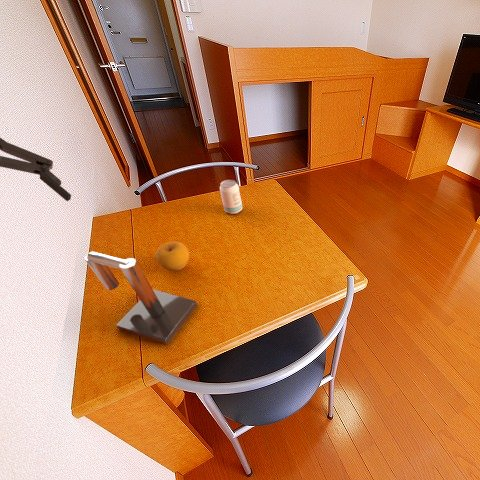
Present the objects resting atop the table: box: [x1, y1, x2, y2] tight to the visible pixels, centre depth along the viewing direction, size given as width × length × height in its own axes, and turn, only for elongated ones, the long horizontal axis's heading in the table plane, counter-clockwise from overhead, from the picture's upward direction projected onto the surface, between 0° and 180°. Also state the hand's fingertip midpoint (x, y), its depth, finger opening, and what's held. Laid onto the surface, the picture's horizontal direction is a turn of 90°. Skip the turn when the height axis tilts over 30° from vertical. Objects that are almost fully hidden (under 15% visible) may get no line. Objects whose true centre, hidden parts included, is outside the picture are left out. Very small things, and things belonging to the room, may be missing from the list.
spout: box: [84, 251, 164, 317], centre depth 65 cm, size 13×3×18 cm, turn 74°
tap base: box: [115, 288, 198, 346], centre depth 71 cm, size 14×12×2 cm
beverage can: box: [219, 179, 243, 215], centre depth 105 cm, size 7×7×12 cm
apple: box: [154, 241, 190, 271], centre depth 82 cm, size 9×9×9 cm
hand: (36, 216), depth 57 cm, fingers open, 13 cm apart
